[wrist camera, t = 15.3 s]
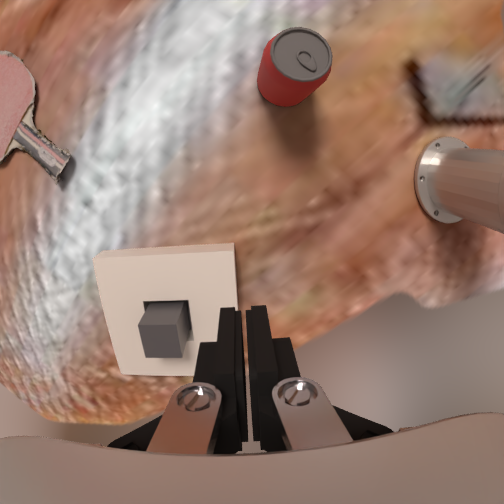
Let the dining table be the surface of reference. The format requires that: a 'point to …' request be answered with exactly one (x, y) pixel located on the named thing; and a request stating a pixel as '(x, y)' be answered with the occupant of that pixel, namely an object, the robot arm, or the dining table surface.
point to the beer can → (293, 66)
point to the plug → (164, 329)
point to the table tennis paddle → (24, 118)
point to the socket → (164, 298)
